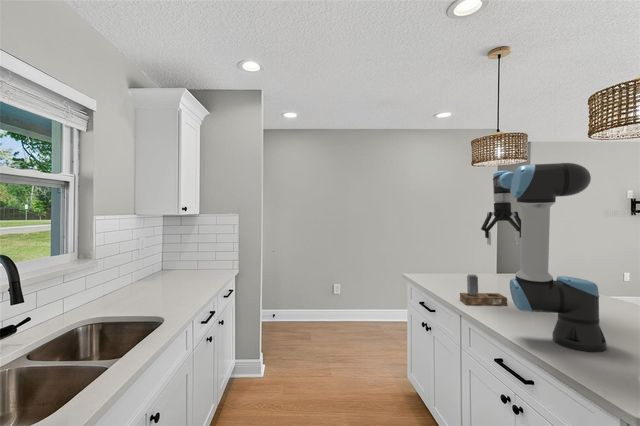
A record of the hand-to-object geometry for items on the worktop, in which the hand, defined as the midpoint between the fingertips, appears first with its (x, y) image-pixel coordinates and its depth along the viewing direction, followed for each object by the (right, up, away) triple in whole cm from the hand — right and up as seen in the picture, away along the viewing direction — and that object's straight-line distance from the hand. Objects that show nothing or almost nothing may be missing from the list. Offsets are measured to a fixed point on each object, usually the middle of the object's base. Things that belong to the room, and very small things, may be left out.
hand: (503, 244), depth 162 cm
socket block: (-6, -32, +8) cm, 33 cm away
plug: (-11, -32, +9) cm, 35 cm away
